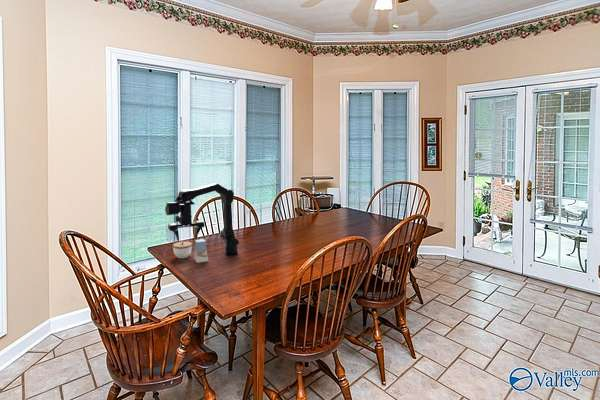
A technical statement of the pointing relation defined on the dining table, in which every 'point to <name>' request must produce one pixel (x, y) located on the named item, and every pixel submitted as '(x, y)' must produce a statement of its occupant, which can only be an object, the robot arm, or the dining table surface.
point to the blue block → (200, 245)
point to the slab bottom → (201, 259)
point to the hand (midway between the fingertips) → (187, 240)
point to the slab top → (201, 254)
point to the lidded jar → (182, 249)
